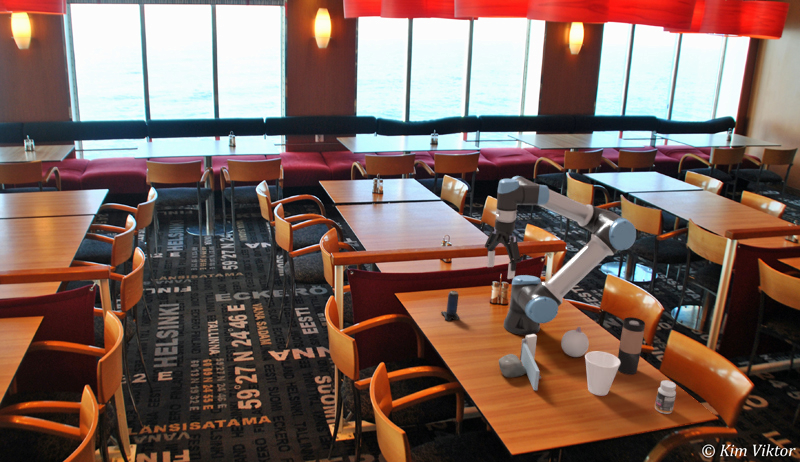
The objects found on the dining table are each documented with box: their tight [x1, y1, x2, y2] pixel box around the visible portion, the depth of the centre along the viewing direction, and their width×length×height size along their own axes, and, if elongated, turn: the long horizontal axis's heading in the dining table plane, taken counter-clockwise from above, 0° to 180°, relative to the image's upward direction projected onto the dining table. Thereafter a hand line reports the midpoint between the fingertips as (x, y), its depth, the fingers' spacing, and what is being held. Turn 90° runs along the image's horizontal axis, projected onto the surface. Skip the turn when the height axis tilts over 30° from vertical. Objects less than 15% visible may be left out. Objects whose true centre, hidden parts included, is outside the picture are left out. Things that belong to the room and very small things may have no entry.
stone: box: [498, 353, 527, 379], centre depth 230 cm, size 9×9×10 cm
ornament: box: [560, 326, 590, 358], centre depth 245 cm, size 10×10×12 cm
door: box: [519, 338, 542, 391], centre depth 229 cm, size 23×3×8 cm, turn 2°
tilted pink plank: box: [524, 334, 538, 359], centre depth 240 cm, size 4×2×10 cm, turn 117°
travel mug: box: [617, 316, 646, 375], centre depth 234 cm, size 8×8×20 cm
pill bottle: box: [654, 379, 677, 415], centre depth 210 cm, size 6×6×10 cm
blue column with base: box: [440, 290, 461, 322], centre depth 274 cm, size 9×8×12 cm
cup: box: [584, 350, 621, 397], centre depth 220 cm, size 12×12×12 cm
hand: (500, 272), depth 244 cm, fingers open, 13 cm apart
